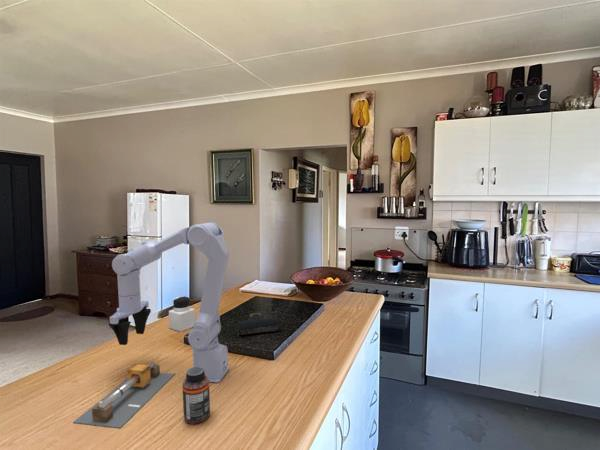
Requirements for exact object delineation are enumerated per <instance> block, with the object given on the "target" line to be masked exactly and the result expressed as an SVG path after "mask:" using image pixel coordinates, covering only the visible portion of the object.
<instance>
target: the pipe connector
mask: <svg viewBox="0 0 600 450" xmlns="http://www.w3.org/2000/svg"><path fill="white" fill-rule="evenodd" d="M249 320H250V321H249ZM276 325H280V326H281V322H280V318H279V317H272V318H271V317H270V318H263V316H262V314H261V313H260V312H253V313H250V314H249V319H248V320H247V321H239V322H238V327H239V326H240V330H244V329H252V328H259V327H268V326H276Z"/></svg>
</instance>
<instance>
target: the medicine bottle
mask: <svg viewBox="0 0 600 450" xmlns="http://www.w3.org/2000/svg"><path fill="white" fill-rule="evenodd" d="M190 301H191V300H190V297H188V296H183V295H182V296H177V297H175V298H174V299H173V300H172V304H173V308H172V309H170V310H168V323H169V324H168V327H169V329H171V330H175V331H177V332H180V333H182V332H185V331H186V330H189V329H193V326H194V322H195V320H196V313H195V312H196V309H195V308H191V307H190V306H191V303H190Z"/></svg>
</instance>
